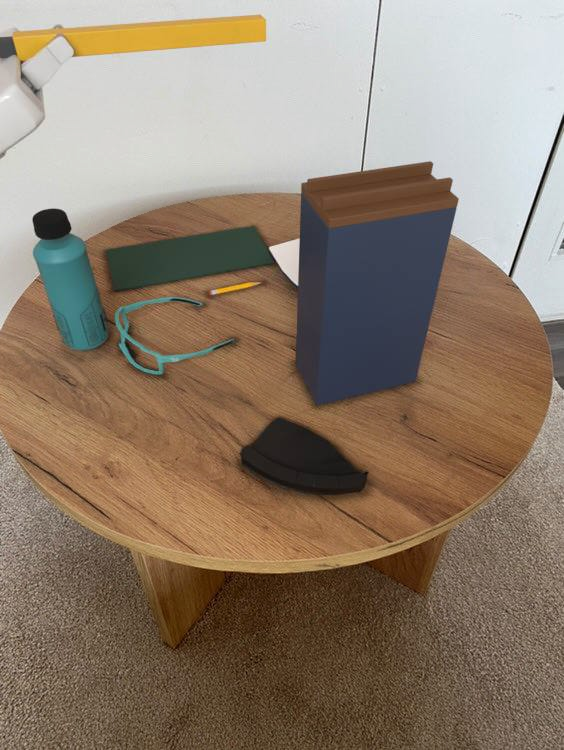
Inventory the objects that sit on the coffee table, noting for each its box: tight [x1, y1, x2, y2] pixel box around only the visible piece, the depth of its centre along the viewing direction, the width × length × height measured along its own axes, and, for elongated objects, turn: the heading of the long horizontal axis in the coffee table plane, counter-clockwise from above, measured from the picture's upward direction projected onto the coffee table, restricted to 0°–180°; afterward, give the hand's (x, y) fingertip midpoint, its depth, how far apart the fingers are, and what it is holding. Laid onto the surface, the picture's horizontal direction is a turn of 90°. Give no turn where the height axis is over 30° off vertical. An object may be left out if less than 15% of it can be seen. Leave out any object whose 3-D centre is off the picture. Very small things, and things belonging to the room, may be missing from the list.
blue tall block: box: [295, 160, 460, 406], centre depth 68 cm, size 14×8×27 cm, turn 108°
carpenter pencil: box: [0, 14, 267, 61], centre depth 56 cm, size 26×2×2 cm, turn 108°
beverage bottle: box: [31, 208, 111, 351], centre depth 74 cm, size 6×7×20 cm
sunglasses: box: [114, 296, 236, 376], centre depth 81 cm, size 14×15×5 cm
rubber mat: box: [105, 225, 275, 293], centre depth 97 cm, size 26×12×1 cm, turn 108°
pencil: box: [208, 281, 262, 297], centre depth 91 cm, size 1×8×1 cm, turn 111°
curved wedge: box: [239, 416, 369, 496], centre depth 66 cm, size 8×14×2 cm, turn 55°
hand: (67, 36), depth 55 cm, fingers closed on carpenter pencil, 2 cm apart
